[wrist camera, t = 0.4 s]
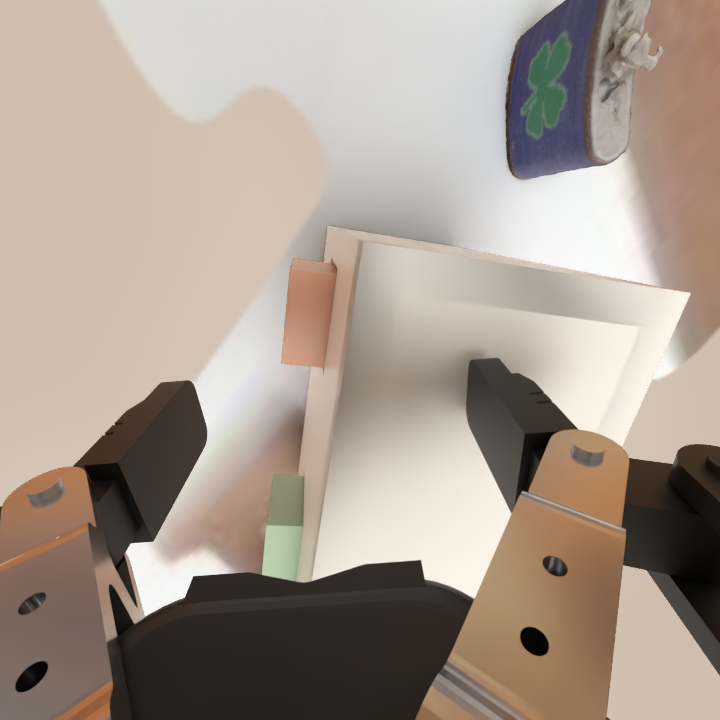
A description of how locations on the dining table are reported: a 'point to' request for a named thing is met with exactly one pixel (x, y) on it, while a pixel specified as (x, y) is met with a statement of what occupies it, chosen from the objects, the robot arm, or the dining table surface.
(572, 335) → the button panel
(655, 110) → the dining table surface
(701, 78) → the dining table surface
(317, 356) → the terracotta button
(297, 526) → the sage button
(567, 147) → the flask
